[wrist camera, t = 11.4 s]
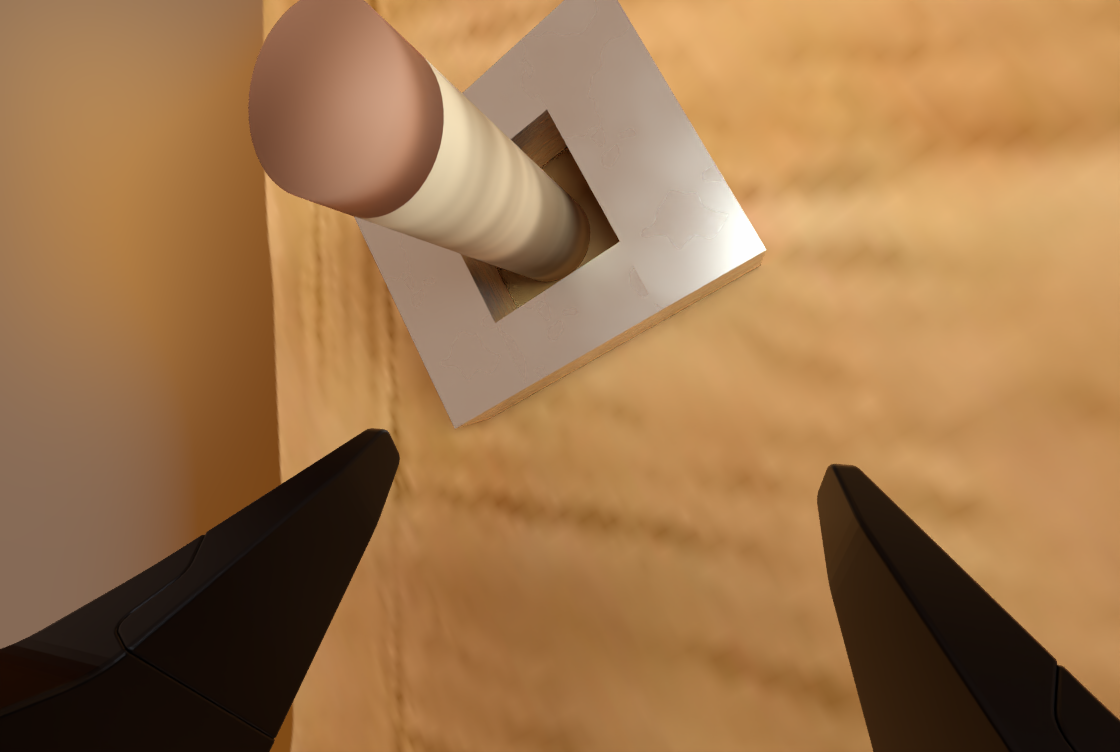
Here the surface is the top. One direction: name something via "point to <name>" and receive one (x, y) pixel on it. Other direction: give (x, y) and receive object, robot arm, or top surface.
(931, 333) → the top surface
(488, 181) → the beech pin
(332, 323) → the top surface
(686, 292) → the square hole block
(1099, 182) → the top surface
